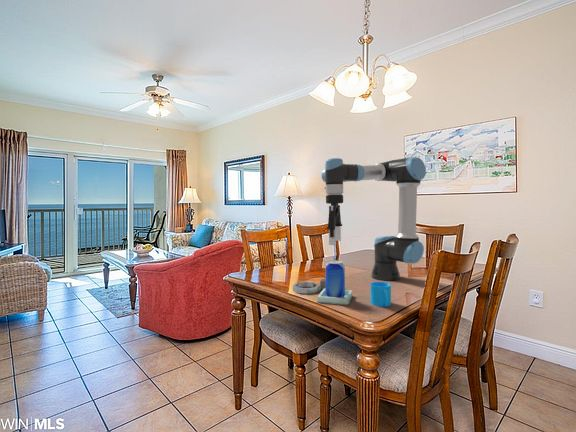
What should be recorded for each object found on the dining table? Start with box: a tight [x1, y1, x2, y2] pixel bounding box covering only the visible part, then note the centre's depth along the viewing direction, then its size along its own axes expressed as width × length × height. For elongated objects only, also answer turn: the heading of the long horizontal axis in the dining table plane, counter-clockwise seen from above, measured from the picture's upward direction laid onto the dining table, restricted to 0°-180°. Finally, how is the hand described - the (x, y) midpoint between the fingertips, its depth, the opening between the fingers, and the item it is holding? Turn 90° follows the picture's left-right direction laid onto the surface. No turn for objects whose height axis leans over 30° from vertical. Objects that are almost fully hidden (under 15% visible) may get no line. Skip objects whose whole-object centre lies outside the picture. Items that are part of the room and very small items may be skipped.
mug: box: [370, 281, 392, 307], centre depth 129 cm, size 12×8×8 cm
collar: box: [292, 281, 320, 295], centre depth 152 cm, size 12×12×2 cm
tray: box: [316, 288, 353, 306], centre depth 138 cm, size 13×13×2 cm
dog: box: [319, 278, 326, 292], centre depth 151 cm, size 3×4×5 cm
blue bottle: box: [324, 259, 346, 298], centre depth 137 cm, size 8×8×16 cm
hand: (335, 242), depth 138 cm, fingers open, 13 cm apart
